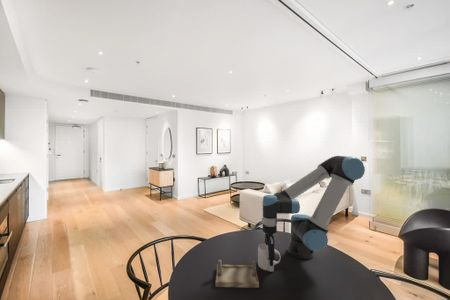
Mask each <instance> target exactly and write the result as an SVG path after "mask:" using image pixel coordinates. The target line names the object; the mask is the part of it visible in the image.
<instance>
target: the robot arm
mask: <svg viewBox="0 0 450 300" xmlns="http://www.w3.org/2000/svg"><path fill="white" fill-rule="evenodd" d="M316 167H317V168H316V169H314V170H312V171H310V173H309V172H308V173H307V174H306V175H304V176H303V177H302V178H300V179H299V180H297V181H296V182H294V183H292V184H291V185H290V186H288V187H287V188H286V189H284V190H282V191H281V192H280V191H279V192H274V194H266V195H263V198H262V217H261V220H262V231H263V233H264V243H266V245H268V251H269V258H267V259H268V271H267V272H274V271H275V269H274V268H275V265H274V261H276V256H275V255H276V253H275V250H276V249H275V236H274V235H275V234H276V233H277V232H278V231H277V230H278V229H277V227H278V226H277V224H278V215H279V214H280V215H281V214H284V215H285V214H286V215H289V214H290V215H291V216H290V240H289V242H288V245H287V253H288V254H289V255H290V256H292V257H294V258H296V259H299V260H311V259H313V257H314V256H315V252H317V251H321V250H323V249H325V248H326V246H327V245H328V241H329V238H328V233H329V227H328V225H329V224H330V222H331V220H332V217H333V216H334V213H335V212H336V210H337V209H338V206H339V204H340V202H341V201H342V198H343V197H344V195H345V193H346V191H347V189H348V187H350V186H353V185H354V183H355V181H356V180H359V179H362V177H363V176H364V174H365V171H366V168H365V165H364V162H363V161H362V160H361V159H359V158H358V157H354V156H351V155H350V156H345V155H334V156H332V157H329V158H328V159H326V160H323V162H321V163H320V164H317V166H316ZM330 178H331V179H330ZM326 179H327V180H328V179H330V181H329V183H328V185H327V187H326V189H325V191H324V192H323V195H322V196H321V198H320V201H319V202H318V204H317V206H316V207H315V210H314V212H313V214H312V215H311V216H310V215H308V214H301V213H300V214H298V213H299V212H300V210H301V204H300V201H299V200H298V199H297V198H299V196H301V195H302V194H304V193H306V192H307V191H309V190H310V189H312V188H313V187H315V186H316V185H318V184H319V183H321V182H322V181H324V180H326Z"/></svg>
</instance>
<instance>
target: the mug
mask: <svg viewBox="0 0 450 300" xmlns="http://www.w3.org/2000/svg"><path fill="white" fill-rule="evenodd" d="M275 254H276V255H278V256H279V260H277V261H276V260H274V266H275V265H278V264H279V263H280V262H281V258H282V257H281V256H282V255H281V254H280V252H279V251H278V250H277V249H275ZM267 258H269V251H268V245H266V243H265V242H262V243H259V244H258V246H257V265H258V268H260V269H261V270H263V271H267V272H269V271H268V259H267Z"/></svg>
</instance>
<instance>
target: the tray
mask: <svg viewBox="0 0 450 300" xmlns="http://www.w3.org/2000/svg"><path fill="white" fill-rule="evenodd" d="M222 263H223V261H222V259H218V260H217V264H216V275H215V288H216V287H217V288H250V289H251V288H254V289H255V288H260V281H259V277H258V271H257V261H256V260H252V261H251V265H250V264H248V265H247V264H222Z"/></svg>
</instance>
